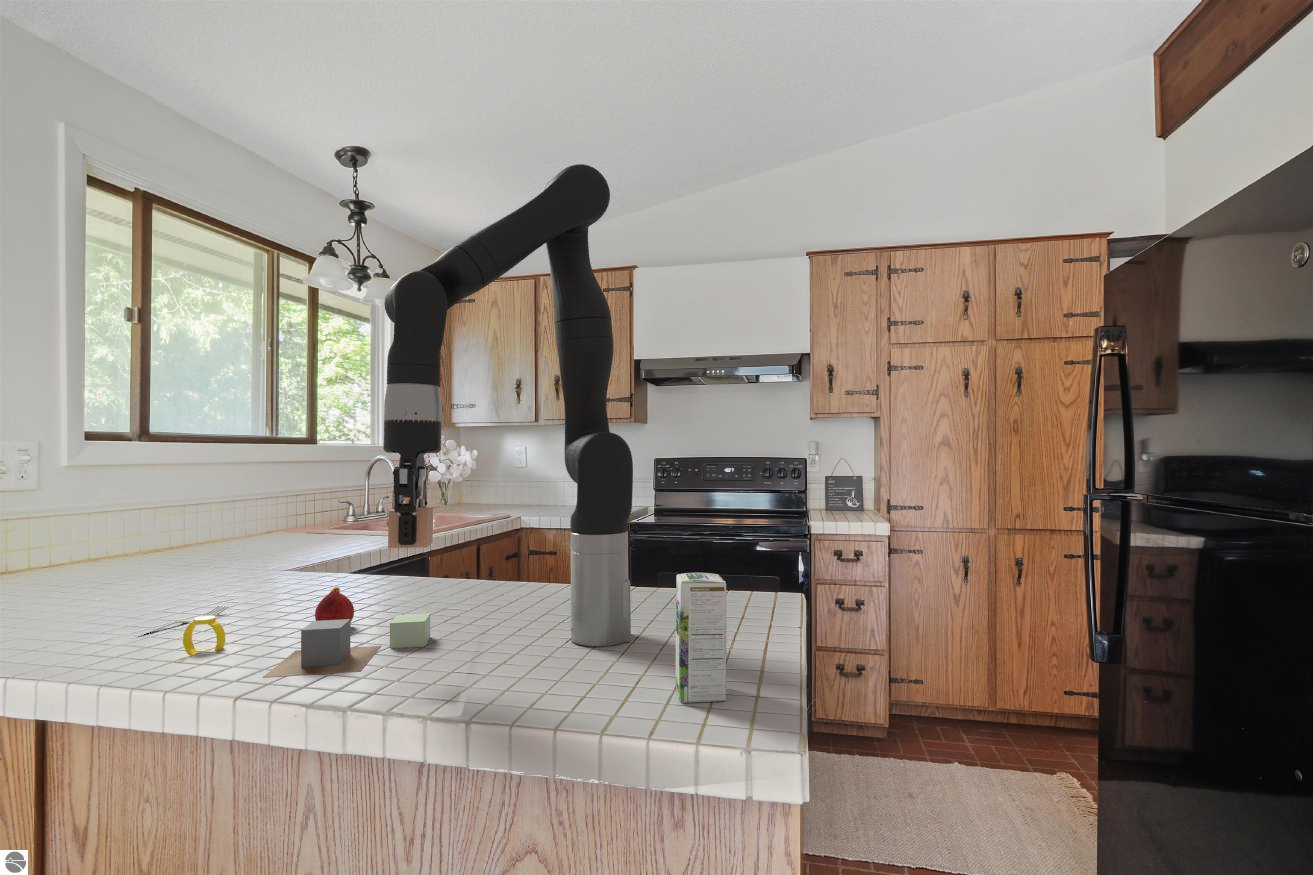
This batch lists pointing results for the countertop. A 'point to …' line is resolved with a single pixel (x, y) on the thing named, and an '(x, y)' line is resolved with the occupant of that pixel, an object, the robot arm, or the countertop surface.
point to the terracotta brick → (422, 534)
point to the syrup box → (700, 637)
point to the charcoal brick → (325, 643)
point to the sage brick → (410, 630)
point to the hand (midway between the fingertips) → (410, 541)
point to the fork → (189, 622)
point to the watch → (200, 620)
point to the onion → (334, 607)
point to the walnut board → (350, 664)
